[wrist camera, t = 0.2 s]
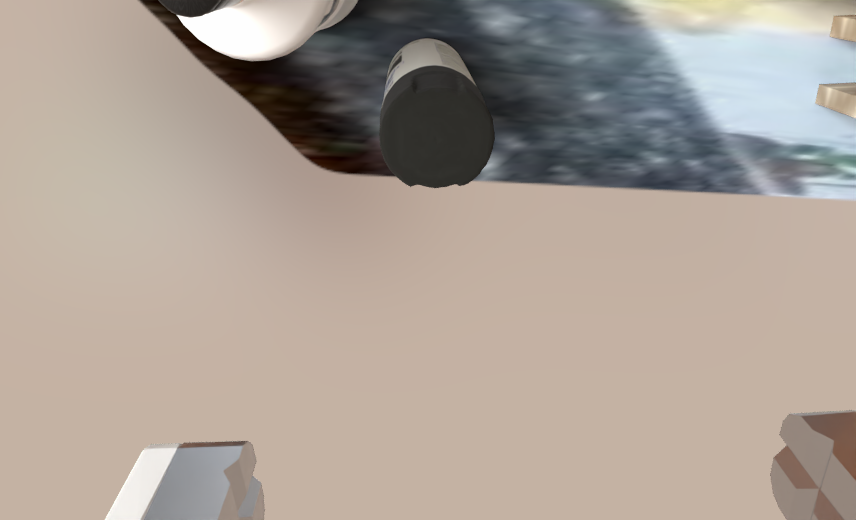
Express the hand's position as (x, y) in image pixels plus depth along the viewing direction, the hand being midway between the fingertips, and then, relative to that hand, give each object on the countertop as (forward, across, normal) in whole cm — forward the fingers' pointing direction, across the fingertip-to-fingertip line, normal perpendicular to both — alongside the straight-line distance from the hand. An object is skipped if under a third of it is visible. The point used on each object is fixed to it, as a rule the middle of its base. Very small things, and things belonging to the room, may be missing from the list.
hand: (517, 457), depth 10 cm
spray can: (+48, 0, +2) cm, 48 cm away
